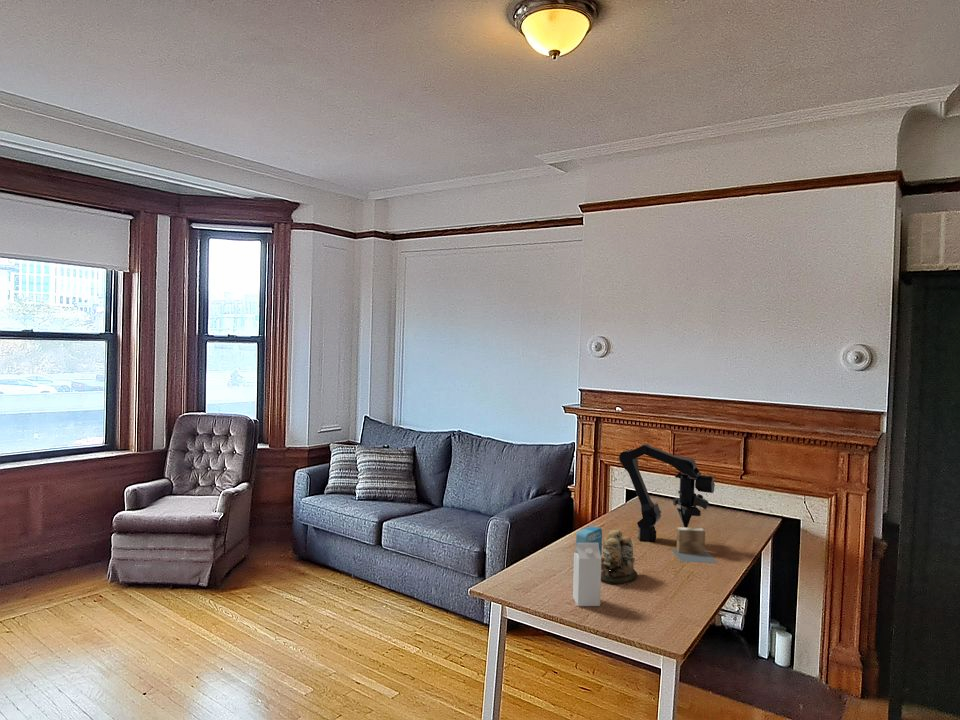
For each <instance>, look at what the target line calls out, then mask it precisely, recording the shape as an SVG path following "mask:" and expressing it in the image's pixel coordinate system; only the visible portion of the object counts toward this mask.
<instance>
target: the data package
mask: <svg viewBox="0 0 960 720" xmlns="http://www.w3.org/2000/svg"><path fill="white" fill-rule="evenodd" d="M577 543H599V550H600V555H601V556H602V554H603V529H602V528H600V527H596V526H592V525H591V526H588V527H585V528H583V529H580V530H578V531H577V532H576V537H575V548H576V547H577Z"/></svg>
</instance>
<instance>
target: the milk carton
mask: <svg viewBox="0 0 960 720" xmlns="http://www.w3.org/2000/svg"><path fill="white" fill-rule="evenodd" d="M601 572H602V554H601V555H600V550H599V543H577V547H576V546H575V549H574V551H573V575H572V576H573V578H572V579H573V580H572V581H573V582H572V598H573V600H574V601H575V604H576V606H577V607H601V592H602V591H601V586H602V585H601V584H602V581H601Z"/></svg>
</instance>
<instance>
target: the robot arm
mask: <svg viewBox="0 0 960 720" xmlns="http://www.w3.org/2000/svg"><path fill="white" fill-rule="evenodd" d="M644 455H645V456H648V457H650V458H653V459H655V460H656V461H657V460H658V461H660V462H663V463H665V464H668V465H669V466H672V467H674V469H676V470H677V471H678V473H677V474H676V475H675V476H674V478H676V479H679V490H678V491H677V493H678V494H679V497H675V498H673V500H672V505H673V506H674V507H675V506H677V505H678V508H676V510H677V512H678V515H679V517H680V520H681V524H682V525H683V527H687V528H689V527H688V526H689V524H690V521H691V518H692V517H700V516H701V514H702V513H701V512H702V511H701V510H700V509H699V508H698V507H700V508H703V509H704V510H707V508H708V506H709V503H710V502H709V501H708V500H707V499H705V498H704V496H703V495H702V494H700V493H696V492H695V490H696V491H697V492H701V493H707V494H714V492H715V486H716V485H715V484H716V483H715V479H714V475H704V474H702V472H701V471H700V470H699V468H698V467H697V462H696V460H695V459H694V458H690V457H687V456H679V455H674V454H672V453H670V452H667V451H664V450H662V449H660V448H656V447H654V446H651V445H650V444H647V443H645V444H641V446H639V447H636V448H634V449H626V450H624V451H622V452H620V454H619V456H618V460H619V462H620V464H621V466H622V467H623V468H624V470H625V471H626V472H627V473H628V475H629V477H630V481H631V483H632V485H633V488H634V490H635V493H636V496H637V498H638V500H639V503H640V507H641V509H640V510H641V517H642V518H641V519H640V520H639V521H637V527H638V534H637V535H638V537H637V539H638V540H639V542H641V543H642V542H643V543H656V541H657V530H656V527H655V525H656V524H657V523H658V522H659V521H660V519H661V517H662V510H661V509H660V507H659V504H658V503H654V502H653V501H652V499H651V497H650V494H649V491H648V490H647V487H646V484H645V481H644V480H643V477H642V475H641V472H640V469H639V459H638V458H640V457H642V456H644Z"/></svg>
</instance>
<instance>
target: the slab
mask: <svg viewBox="0 0 960 720" xmlns="http://www.w3.org/2000/svg"><path fill="white" fill-rule="evenodd" d="M705 544H706V530H705V529H704V528H703V527H684V526H683V527H682V526H681V527H680V526H678V527H677V528H676V549H677V551H678V553H693V554H704V552H705V549H706V548H705V546H706V545H705Z"/></svg>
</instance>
